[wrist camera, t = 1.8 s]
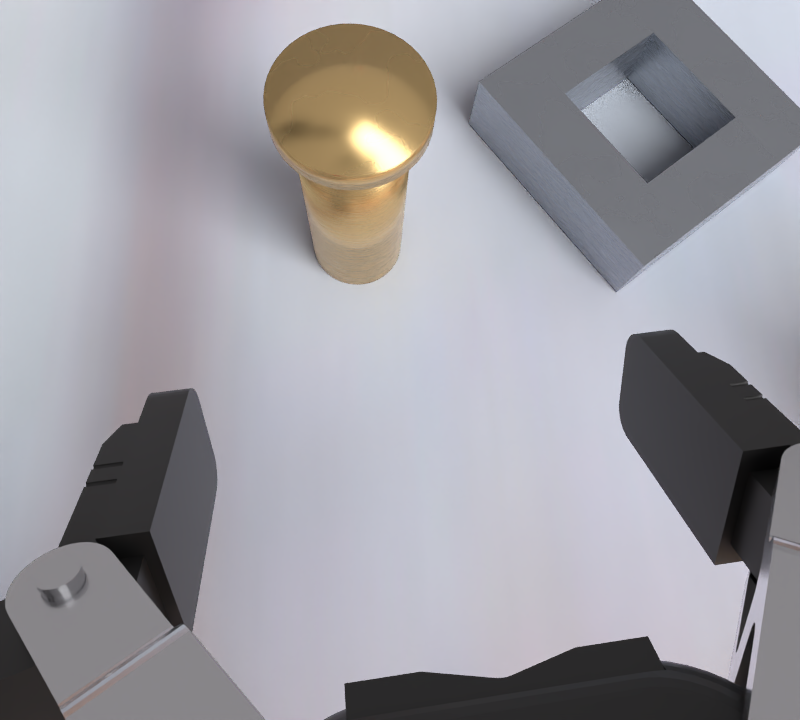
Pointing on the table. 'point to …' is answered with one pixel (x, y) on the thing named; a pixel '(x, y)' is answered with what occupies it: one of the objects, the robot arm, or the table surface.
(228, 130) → the table surface
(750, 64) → the jig
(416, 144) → the gold capped peg
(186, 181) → the table surface
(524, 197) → the table surface
